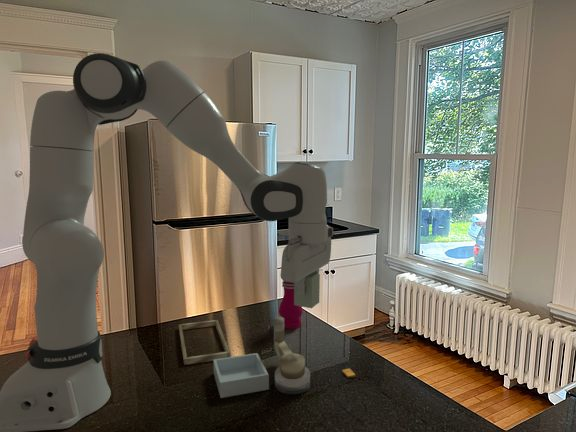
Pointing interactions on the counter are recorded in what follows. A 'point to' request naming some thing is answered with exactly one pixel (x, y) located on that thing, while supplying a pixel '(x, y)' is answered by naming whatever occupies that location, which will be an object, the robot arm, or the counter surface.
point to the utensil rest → (209, 356)
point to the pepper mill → (290, 307)
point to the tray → (240, 375)
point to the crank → (287, 353)
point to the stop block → (308, 292)
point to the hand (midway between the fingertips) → (307, 290)
